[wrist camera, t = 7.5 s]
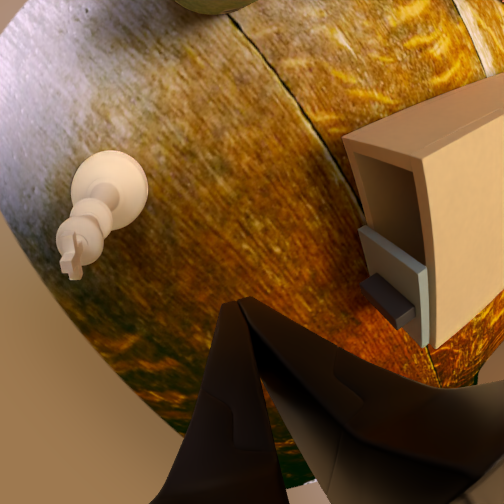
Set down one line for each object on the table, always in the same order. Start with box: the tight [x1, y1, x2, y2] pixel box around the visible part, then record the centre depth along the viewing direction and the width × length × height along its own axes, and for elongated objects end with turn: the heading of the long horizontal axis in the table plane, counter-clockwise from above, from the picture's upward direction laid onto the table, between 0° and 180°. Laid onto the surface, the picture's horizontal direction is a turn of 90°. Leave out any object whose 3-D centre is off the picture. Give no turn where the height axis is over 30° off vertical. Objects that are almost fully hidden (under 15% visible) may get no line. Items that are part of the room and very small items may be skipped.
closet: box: [341, 72, 504, 349], centre depth 21 cm, size 26×16×8 cm, turn 115°
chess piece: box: [56, 150, 148, 280], centre depth 13 cm, size 5×5×10 cm
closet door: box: [358, 225, 429, 348], centre depth 22 cm, size 3×8×7 cm, turn 25°
